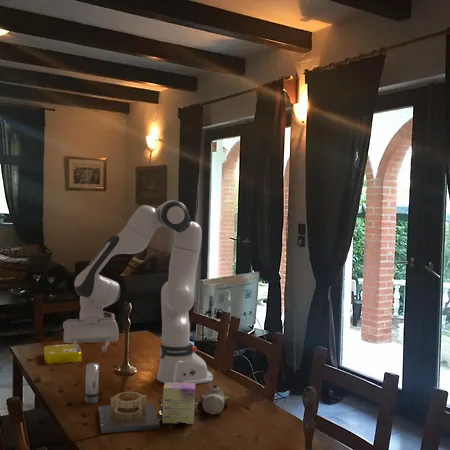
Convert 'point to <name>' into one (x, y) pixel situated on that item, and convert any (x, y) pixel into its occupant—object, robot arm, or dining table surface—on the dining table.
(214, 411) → the ceramic sculpture
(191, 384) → the box
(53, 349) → the element tile
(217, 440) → the dining table surface
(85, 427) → the dining table surface
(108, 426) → the collar stand
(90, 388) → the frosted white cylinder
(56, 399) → the dining table surface
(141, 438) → the dining table surface
